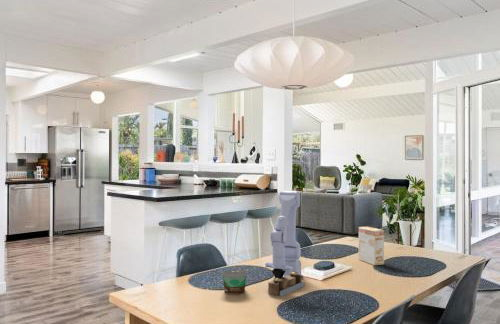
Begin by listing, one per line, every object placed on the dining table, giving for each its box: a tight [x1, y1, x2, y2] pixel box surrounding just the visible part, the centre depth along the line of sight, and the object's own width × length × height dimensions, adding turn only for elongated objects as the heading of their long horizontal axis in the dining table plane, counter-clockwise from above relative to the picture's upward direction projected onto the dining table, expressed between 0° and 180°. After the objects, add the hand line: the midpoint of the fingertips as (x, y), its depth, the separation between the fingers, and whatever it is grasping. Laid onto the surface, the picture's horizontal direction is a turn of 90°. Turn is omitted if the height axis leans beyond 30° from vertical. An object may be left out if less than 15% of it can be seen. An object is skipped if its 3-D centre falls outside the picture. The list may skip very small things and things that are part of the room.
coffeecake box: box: [358, 225, 385, 266], centre depth 248 cm, size 15×7×20 cm, turn 22°
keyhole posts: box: [272, 272, 298, 284], centre depth 199 cm, size 17×4×6 cm, turn 140°
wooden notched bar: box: [267, 274, 303, 297], centre depth 199 cm, size 19×5×5 cm, turn 139°
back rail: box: [279, 281, 305, 297], centre depth 197 cm, size 18×1×2 cm, turn 140°
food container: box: [220, 269, 248, 295], centre depth 195 cm, size 12×6×10 cm, turn 105°
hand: (278, 284), depth 202 cm, fingers closed
